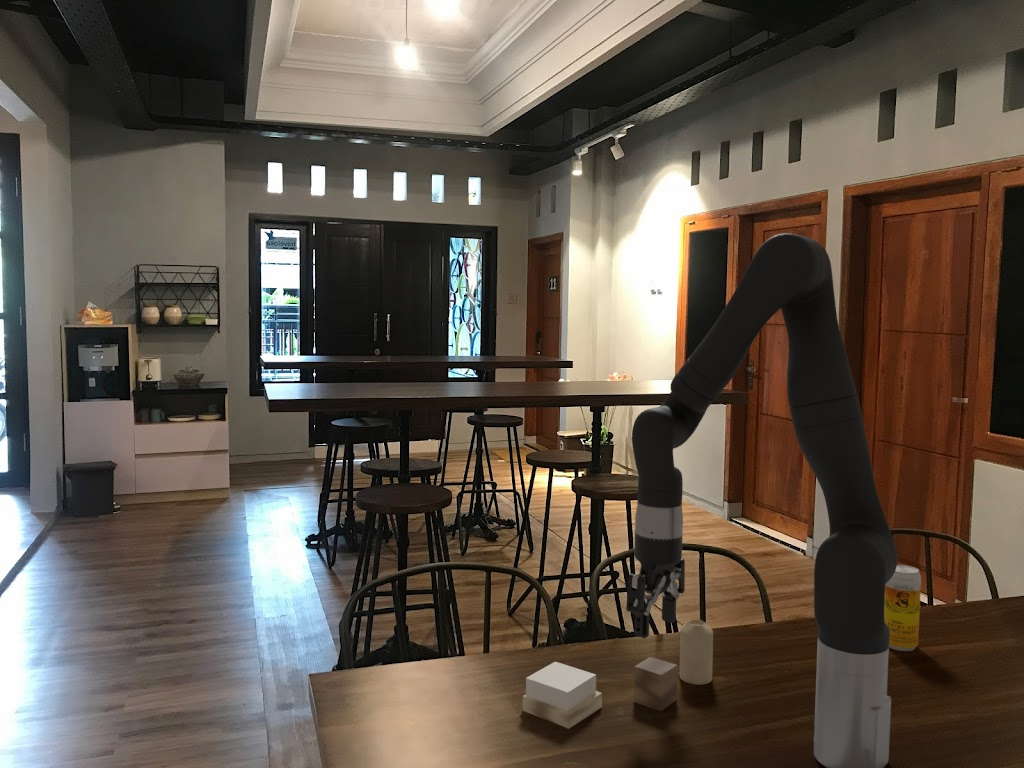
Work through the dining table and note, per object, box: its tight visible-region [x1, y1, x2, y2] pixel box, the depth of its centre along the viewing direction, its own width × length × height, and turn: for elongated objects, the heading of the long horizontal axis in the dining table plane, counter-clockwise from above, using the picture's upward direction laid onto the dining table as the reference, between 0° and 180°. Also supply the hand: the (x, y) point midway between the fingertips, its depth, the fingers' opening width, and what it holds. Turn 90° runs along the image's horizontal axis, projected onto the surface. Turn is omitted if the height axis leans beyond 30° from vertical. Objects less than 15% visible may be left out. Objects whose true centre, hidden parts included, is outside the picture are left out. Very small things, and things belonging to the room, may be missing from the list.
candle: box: [679, 618, 714, 686], centre depth 143 cm, size 6×6×10 cm
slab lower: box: [522, 690, 603, 730], centre depth 132 cm, size 9×9×3 cm
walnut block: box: [633, 656, 678, 712], centre depth 135 cm, size 5×5×6 cm
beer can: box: [884, 564, 922, 652], centre depth 157 cm, size 6×6×15 cm
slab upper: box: [525, 661, 597, 711], centre depth 132 cm, size 8×8×3 cm
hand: (655, 628), depth 134 cm, fingers open, 8 cm apart
